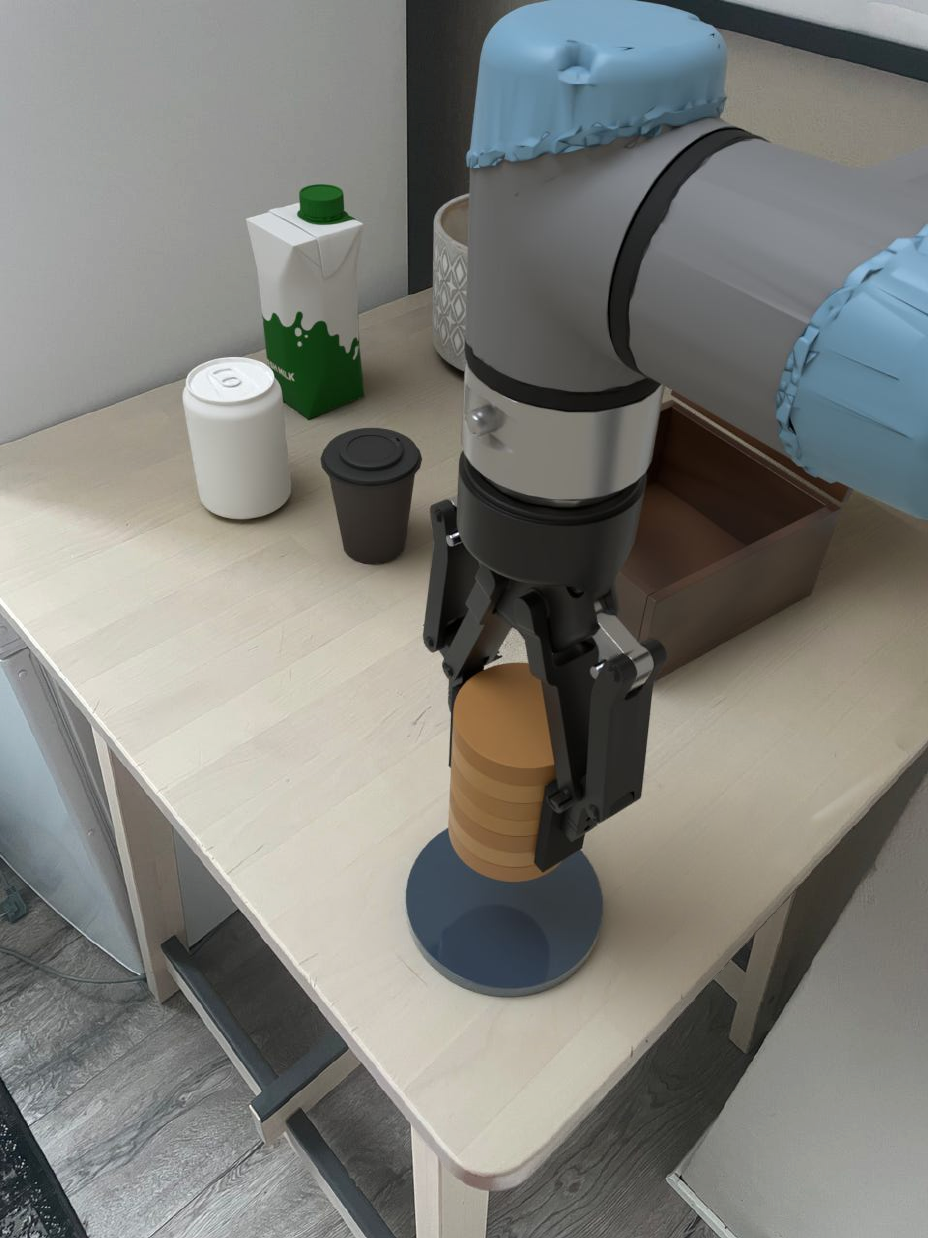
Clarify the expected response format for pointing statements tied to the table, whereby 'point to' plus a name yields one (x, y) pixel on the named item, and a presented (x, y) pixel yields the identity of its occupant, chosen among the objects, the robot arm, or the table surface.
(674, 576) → the chest
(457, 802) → the cookies
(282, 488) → the beverage can
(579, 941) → the plate
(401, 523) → the coffee cup
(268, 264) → the milk carton
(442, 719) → the table surface
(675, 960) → the table surface
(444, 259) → the planter
